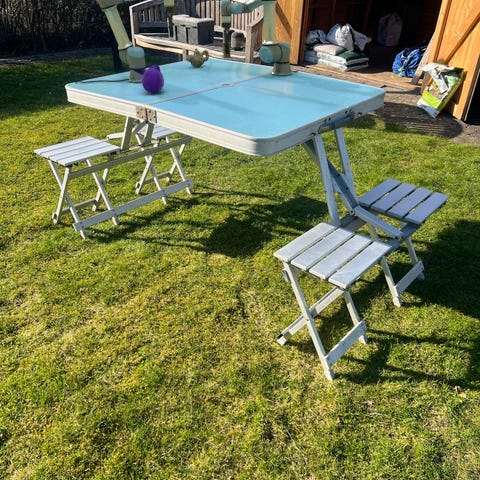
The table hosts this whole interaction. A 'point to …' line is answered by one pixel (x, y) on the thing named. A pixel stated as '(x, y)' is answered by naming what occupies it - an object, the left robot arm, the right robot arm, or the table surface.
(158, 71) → the toy
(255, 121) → the table surface
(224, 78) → the table surface
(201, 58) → the tan lumpy piece
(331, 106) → the table surface
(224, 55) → the block
